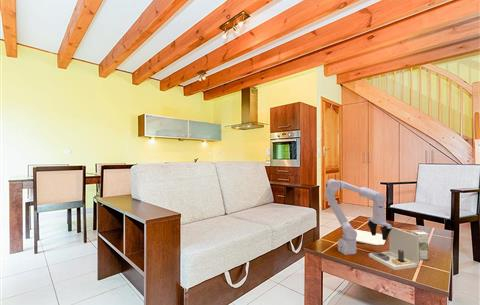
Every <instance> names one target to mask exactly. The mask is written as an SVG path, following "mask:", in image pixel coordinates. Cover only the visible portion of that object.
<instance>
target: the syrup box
mask: <svg viewBox="0 0 480 305" xmlns="http://www.w3.org/2000/svg"><path fill="white" fill-rule="evenodd" d="M410 233H412V234H415V235H418V236H419V261H421V260H426V261H429V234H428V233H427V231H426V232H425V231H423V230H410Z"/></svg>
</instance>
